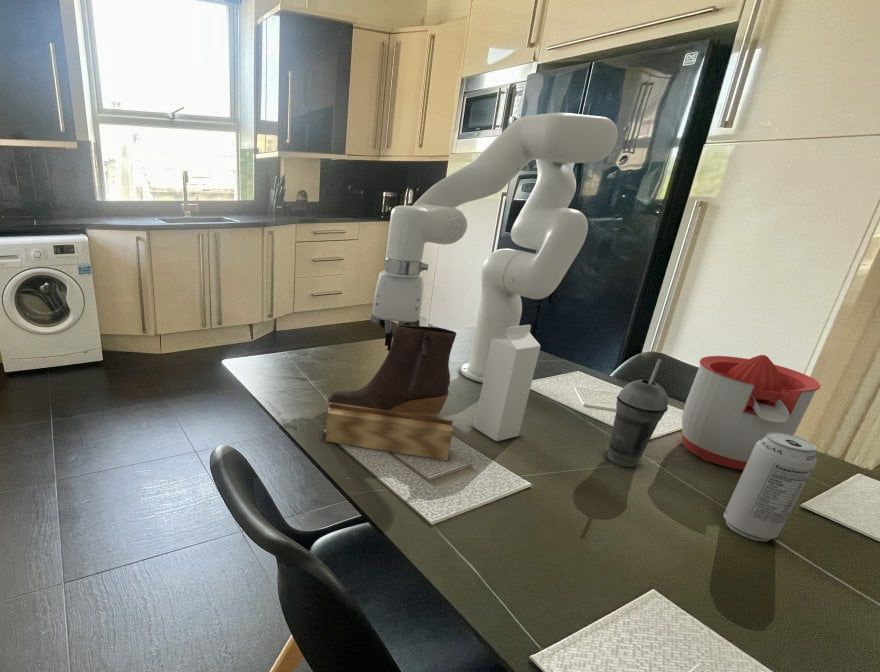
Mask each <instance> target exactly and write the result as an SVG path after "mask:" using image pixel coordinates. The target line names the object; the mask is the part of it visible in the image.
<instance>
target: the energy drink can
mask: <svg viewBox="0 0 880 672" xmlns="http://www.w3.org/2000/svg"><path fill="white" fill-rule="evenodd" d="M816 450H817V446H816V445H815V444H814V443H812V442H810V441H809V440H807V439H804V438H803V437H800V436H796V435H789V434H785V433H779V432H769V433H767V435H766V437H765V438H763V439H761V440H759V441H758V442H757V443H756V445H755V447H754V449H753V451H752V453H751V456H750V458H749V460H748V462H747V464H746V466H745V469H744V470H742V473H741V475H740V478H739V480H738V482H737V484H736V486H735V488H734V491H733V493H732V495H731V497H730V499H729V501H728V504H727V506H726V508H725V510H724V512H723V518H724V520H725V524H726V526H727V527H728V528H729V529H730V530H732V531H733V532H734V533H736V534H738V535H740V536H742V537H744V538H746V539H749V540H753V541H757V542H768V541H770V540H771V539H776V538H778V537H779V535H780V534H781V531H782V530H783V527H784V526H785V523H786V522H787V520H788V518H789V516H790V514H791V512H792V510H793V508H794V506H795V505H796V503H797V501H798V499H799V497H800V495H801V493H802V491H803V489H804V488H805V485H806V483H807V482H808V480H809V478H810V476H811V474H812V472H813V470H814V468H815V466H816V464H817V463H818V459H817V455H816V452H815V451H816Z"/></svg>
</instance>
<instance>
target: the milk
mask: <svg viewBox="0 0 880 672" xmlns="http://www.w3.org/2000/svg"><path fill="white" fill-rule="evenodd" d="M531 328H532V325H531V324H523V325H519V326H515V327H508V328H507V331H506V335H505V336H502V337H498V338H495V339H492V340H491V345H490V350H489V355H488V360H487V365H486V370H485V375H484V380H483V383H482V385H481V389H480V395H479V400H478V405H477V410H476V415H475V420H474V425H473V428H474V429H476V430H477V431H479V432H481V434H483V435H485V436H487V437H488V438H490V439H492V440H493V441H495V442H499V441H504V440H507V439H511V438H516V437H519V436H520V432H521V428H522V425H523V419H524V416H525V412H526V409H527V403H528V400H529V395H530V392H531V387H532V383H533V378H534V375H535V371H536V367H537V362H538V360H539V355H540V351H541V344H540V343H539V341H537V339H536V338H535V337H534V336H533V335H532V333H531Z"/></svg>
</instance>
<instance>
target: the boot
mask: <svg viewBox="0 0 880 672" xmlns="http://www.w3.org/2000/svg"><path fill="white" fill-rule="evenodd" d="M394 331H395V334H394V333H393V334H394V338H393V337H392V341H393V342H392V343H391V348H390V350H389V351H388V353H387V355H386V357H385V358H384V361H383V362H382V364H381V365H380V367H379V368H378V370H377V371H376V373H375V375H374V376H373V377H372V378H371V380H370V381H369V382H367V384H366V385H365V386H363V387H361V388H360V389H357V390H339V391H338V390H337V391H334V392H333V393H332V394H331V395H330V396H329V397H328V398H327V399H326V405H327V408H328V409H329V408H330V402H332V403H339V404H346V405H353V406H361V407H368V408H375V409H382V410H389V411H396V412H403V413H411V414H418V415H425V416H432V417H439V416H440V413H441V411H442V409H443V407H444V405H445V403H446V401H447V399H448V397H449V393H450V391H449V387H450V384H451V383H450V382H451V372H450V366H449V365H450V364H449V363H450V356H451V352H452V349H453V346H454V343H455V340H456V337H457V332H456V331H454V330H450V329H447V328H444V327H443V328H442V327H438V326H436V327H435V326H426V325H420V326H411V325H398V324H396V325H395V329H394Z"/></svg>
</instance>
